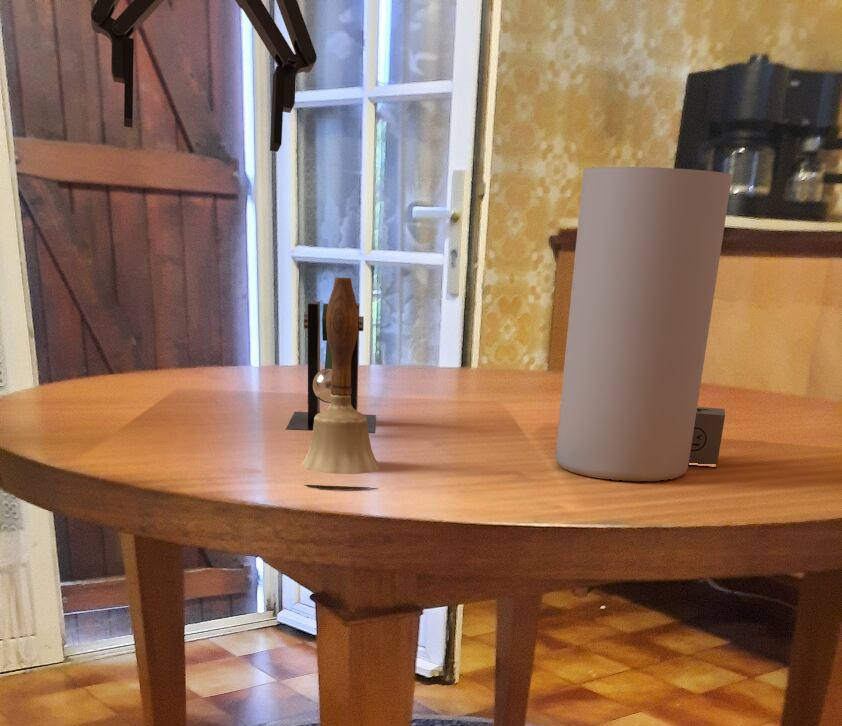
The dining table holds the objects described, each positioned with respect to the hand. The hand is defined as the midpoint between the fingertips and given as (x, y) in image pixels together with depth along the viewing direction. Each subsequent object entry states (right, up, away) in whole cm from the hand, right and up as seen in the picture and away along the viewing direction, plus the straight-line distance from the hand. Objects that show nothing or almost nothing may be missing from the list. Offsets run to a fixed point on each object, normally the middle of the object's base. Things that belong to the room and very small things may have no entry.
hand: (203, 135), depth 100 cm
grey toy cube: (+48, -29, +8) cm, 56 cm away
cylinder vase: (+39, -31, +2) cm, 50 cm away
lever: (+12, -20, +6) cm, 24 cm away
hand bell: (+14, -35, -9) cm, 38 cm away
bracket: (+11, -24, +13) cm, 30 cm away
